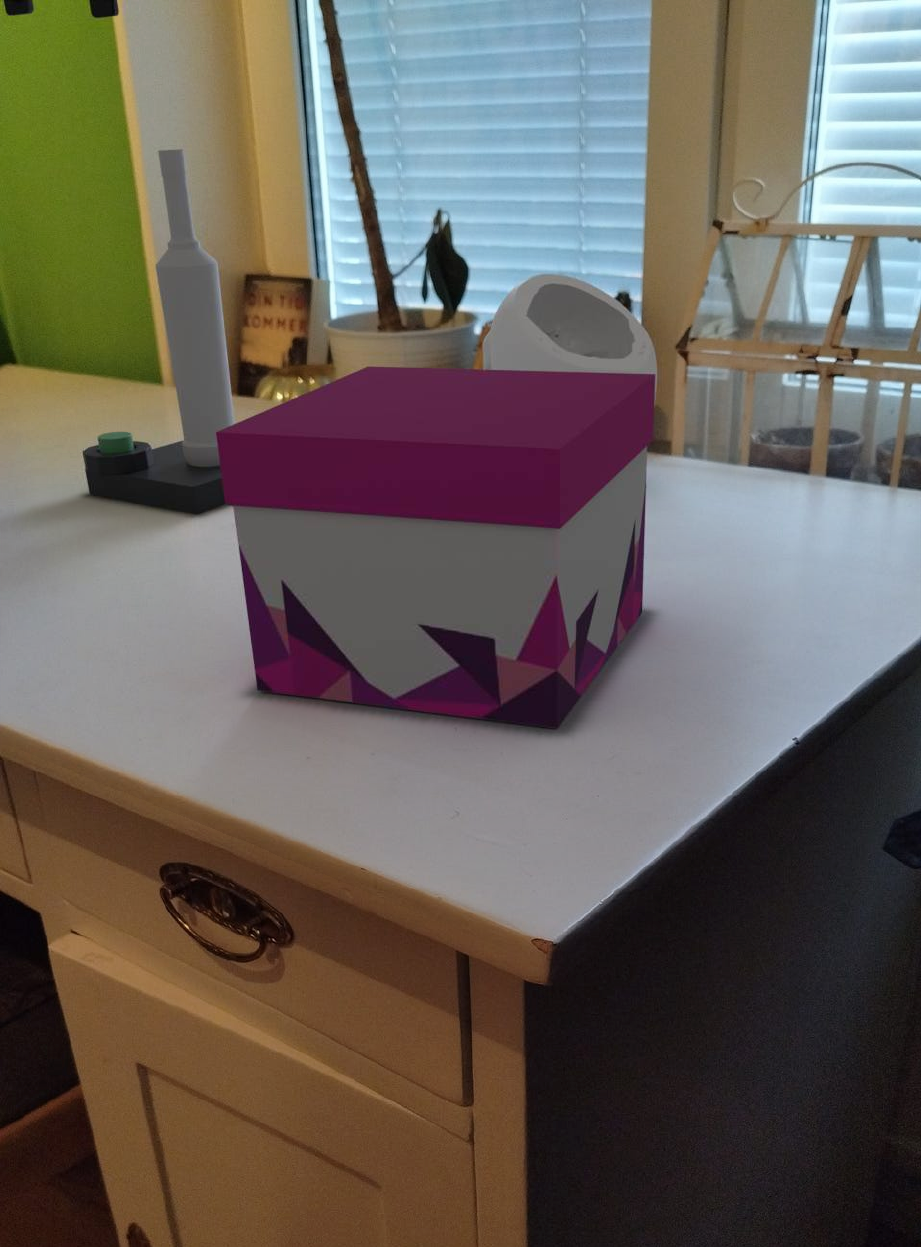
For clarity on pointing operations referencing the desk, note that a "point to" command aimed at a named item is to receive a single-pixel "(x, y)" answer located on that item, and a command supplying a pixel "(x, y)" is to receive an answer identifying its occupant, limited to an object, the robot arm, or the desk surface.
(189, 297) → the bottle
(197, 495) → the black push button box
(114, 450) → the button
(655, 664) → the desk surface
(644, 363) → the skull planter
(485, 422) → the decorative box
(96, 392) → the desk surface
